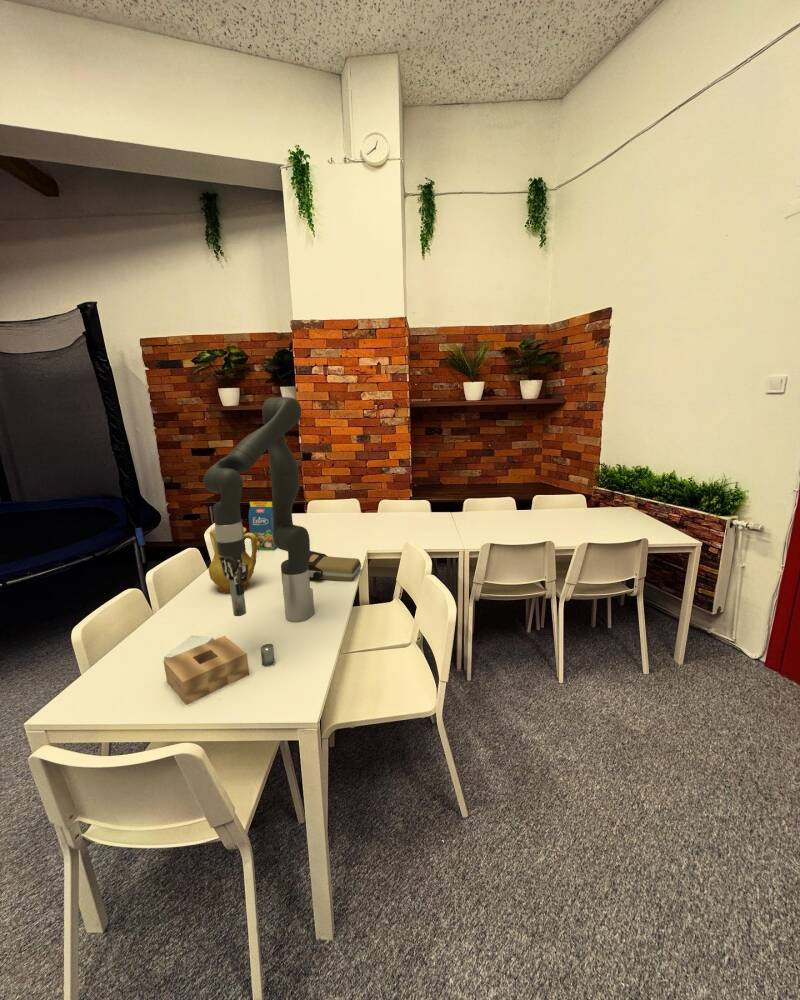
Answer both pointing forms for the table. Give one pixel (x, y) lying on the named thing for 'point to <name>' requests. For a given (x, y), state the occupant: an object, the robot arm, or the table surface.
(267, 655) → the short pin
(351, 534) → the table surface
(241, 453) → the robot arm
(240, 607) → the long pin
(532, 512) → the table surface
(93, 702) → the table surface
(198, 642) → the hard drive
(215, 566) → the pitcher
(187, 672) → the guide block
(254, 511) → the blue food package
